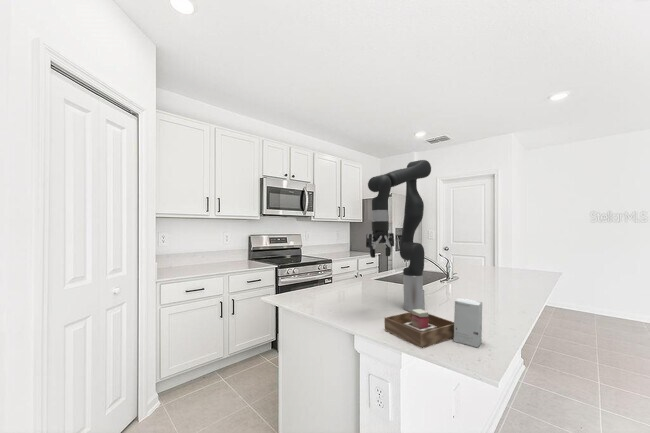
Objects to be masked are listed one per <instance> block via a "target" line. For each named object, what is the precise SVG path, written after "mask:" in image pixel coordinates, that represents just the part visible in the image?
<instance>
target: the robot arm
mask: <svg viewBox="0 0 650 433" xmlns="http://www.w3.org/2000/svg"><path fill="white" fill-rule="evenodd" d="M431 172H432V166H431V163H430V161H428V160H426V159H420V160H419V159H418V160H415V161H410V162H409V163H407V166H406V167H404V168H400V169H396V170H393V171H389V172H386V173H384V174H380V175H376V176H372V177H370V179H368V182H367V188H368V189H369V190H370V192H373V193H377V196H375V197H373V198H372V199H371V217H370V218H371V231H372V232H371V233H367V234H366V235H365V236H366V238H365V247H366V248H367V249H369V256H370V257H371V258H376V247H377V246H378V244H382V245H384V247H385V256H386V257H391V253H392V252H391V249H392V247H394V246H395V237H394V236H395V234H394V233H393V232H389V231H390V229H389V227H390V226H389V225H390V224H389V223H390V222H389V219H390V218H389V216H390V215H389V203H388V202H389V199H390V194H391V189H392V188H394V187H397V186H399V185H403V184H404V183H405V184H406V188H405V202H404V203H405V204H404V212H403V213H404V215H403V225H402V226H403V227H402V234H401V240H400V245H399V255H400V258H401V259H403V260H405V261H409V265H408V266H407V267H404V268H403V270H402V272H403V274H402V275H403V279H402V280H403V282H402V283H403V309H404V310H405V311H408V312H412V310H415V309H422V310H424V311H425V306H426V305H425V304H426V303H425V290H424V285H423V284H424V282H423V281H424V280H423V279H424V277H423V275H424V274H423V271H424V269H425V248H424V246H423V245H422V243H420V242H414V236H415V233H416V231H417V229H418V227H419V225H420V224H421V222H422V220H423V217H424V211H425V210H424V208H425V206H424V200H423V199H422V196H421V195H420V193H419V191H418V186H417V183H418V181H417V180H420V179H425V178H427V177H429V176H430V174H431Z"/></svg>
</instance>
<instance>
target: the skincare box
mask: <svg viewBox="0 0 650 433" xmlns="http://www.w3.org/2000/svg"><path fill="white" fill-rule="evenodd" d="M453 314H454V317H453V318H454V321H453V322H454V338H453V341H454V342H455V343H459V344H463V345H467V346H471V347H474V348H479V347H480V346H481V344H482V340H483V339H482V337H483V334H482V332H483V302H482V301H478V300H474V299H468V298H467V299H466V298H461V297H458V298H457V299H455V300H454V313H453Z"/></svg>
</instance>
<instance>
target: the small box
mask: <svg viewBox="0 0 650 433" xmlns="http://www.w3.org/2000/svg"><path fill="white" fill-rule="evenodd" d="M428 314H429V312H428V311H426V310H425V309H424V310H422V309H415V310H412V326H413V327H416V328H418V329H424V328H428Z"/></svg>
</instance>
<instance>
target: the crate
mask: <svg viewBox="0 0 650 433" xmlns="http://www.w3.org/2000/svg"><path fill="white" fill-rule="evenodd" d="M384 331H386V332H387V333H389V334H392V335H394V336H395V337H398V338H400V339H402V340H404V341H406V342H408V343H410V344H411V345H412V344H413V345H414V346H416V347H419V348H421V349H424V348H427V347H431V346H433V344H434V345H436V344H439V343H443V342H446V341H449V340H452V339H454V321H451V320H448V319H447V318H446V319H445V318H442V317H440V316H436V315H434V314H430V313H428V328H424V329H418V328H416V327H413V326H412V312H411V311H408V312H404V313H399V314H396V315H391V316H386V317H384ZM430 345H431V346H430Z"/></svg>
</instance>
